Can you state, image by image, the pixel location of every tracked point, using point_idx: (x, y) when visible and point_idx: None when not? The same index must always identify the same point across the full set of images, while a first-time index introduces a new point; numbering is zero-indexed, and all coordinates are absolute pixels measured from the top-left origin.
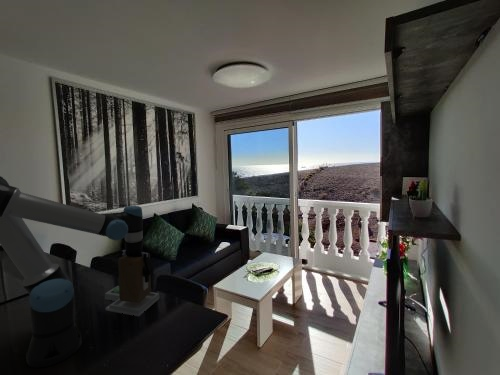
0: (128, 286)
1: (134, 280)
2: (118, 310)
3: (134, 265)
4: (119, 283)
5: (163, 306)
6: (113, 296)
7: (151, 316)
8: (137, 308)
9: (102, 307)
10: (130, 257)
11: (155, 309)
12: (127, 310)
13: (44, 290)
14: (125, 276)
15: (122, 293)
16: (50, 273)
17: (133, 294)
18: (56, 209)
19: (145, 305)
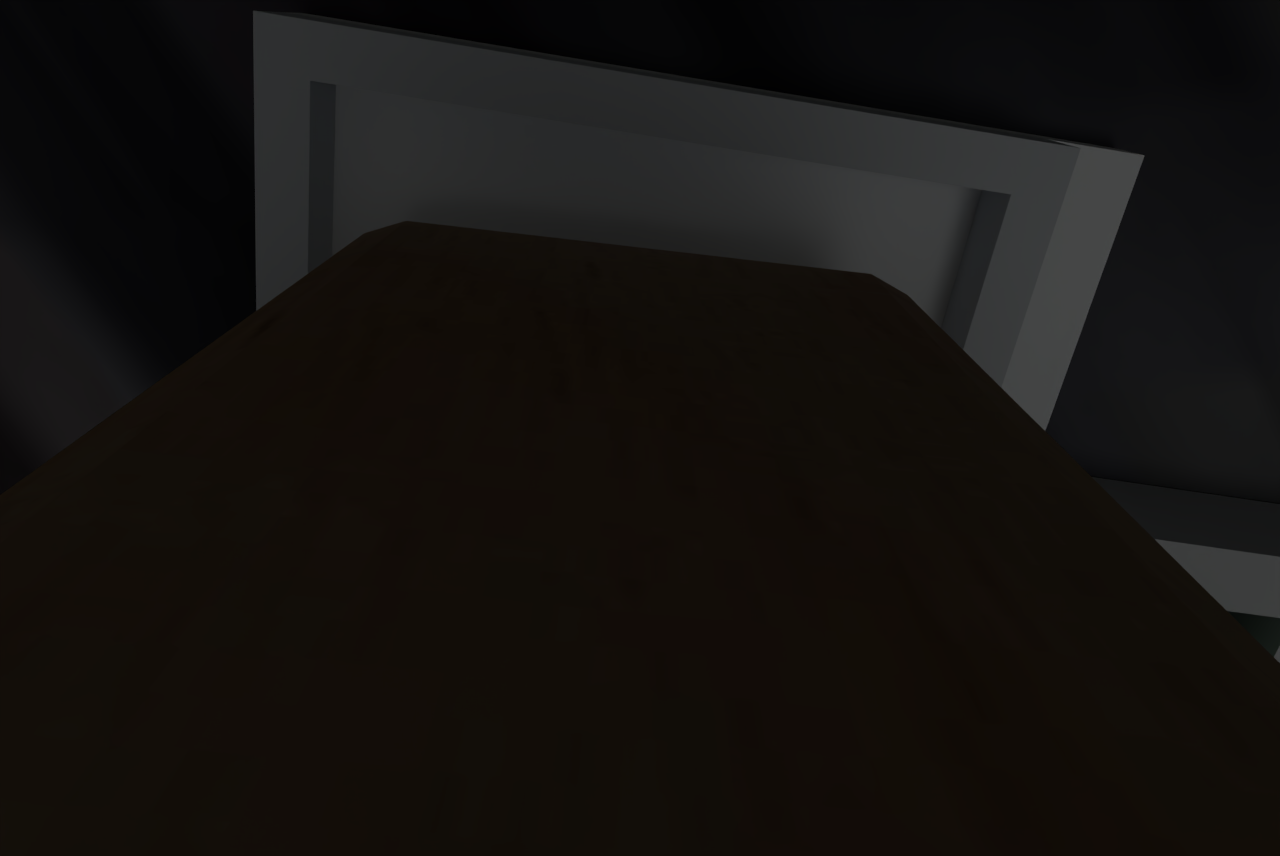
0: (614, 378)
1: (180, 476)
2: (812, 100)
3: None
4: (1070, 469)
5: (61, 409)
6: (1155, 523)
7: (51, 50)
8: (440, 213)
9: (1232, 246)
10: None
11: (141, 298)
12: (574, 61)
13: None
14: (813, 651)
15: (839, 312)
16: None
17: (448, 273)
18: None
19: (264, 264)
